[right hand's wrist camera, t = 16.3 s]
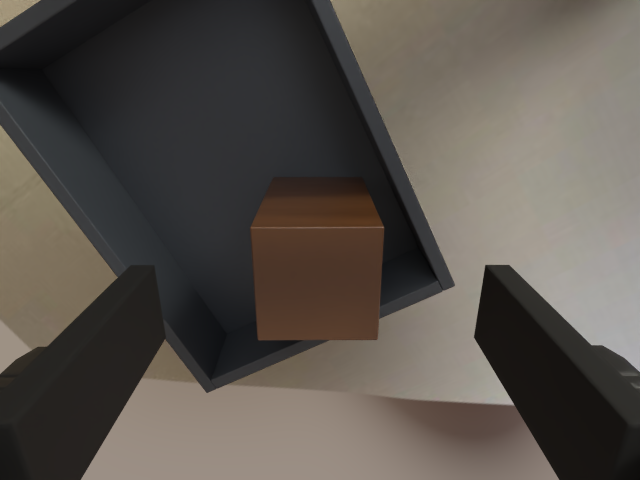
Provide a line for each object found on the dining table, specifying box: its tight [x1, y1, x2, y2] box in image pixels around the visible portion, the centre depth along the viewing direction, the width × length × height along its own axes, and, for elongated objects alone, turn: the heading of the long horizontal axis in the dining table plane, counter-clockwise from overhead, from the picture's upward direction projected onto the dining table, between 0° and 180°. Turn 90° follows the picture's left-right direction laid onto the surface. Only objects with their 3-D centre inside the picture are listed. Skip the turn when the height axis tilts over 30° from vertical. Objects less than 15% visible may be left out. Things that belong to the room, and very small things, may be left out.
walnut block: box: [250, 177, 384, 340], centre depth 18 cm, size 4×4×8 cm
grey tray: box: [0, 0, 455, 393], centre depth 17 cm, size 24×13×7 cm, turn 27°
